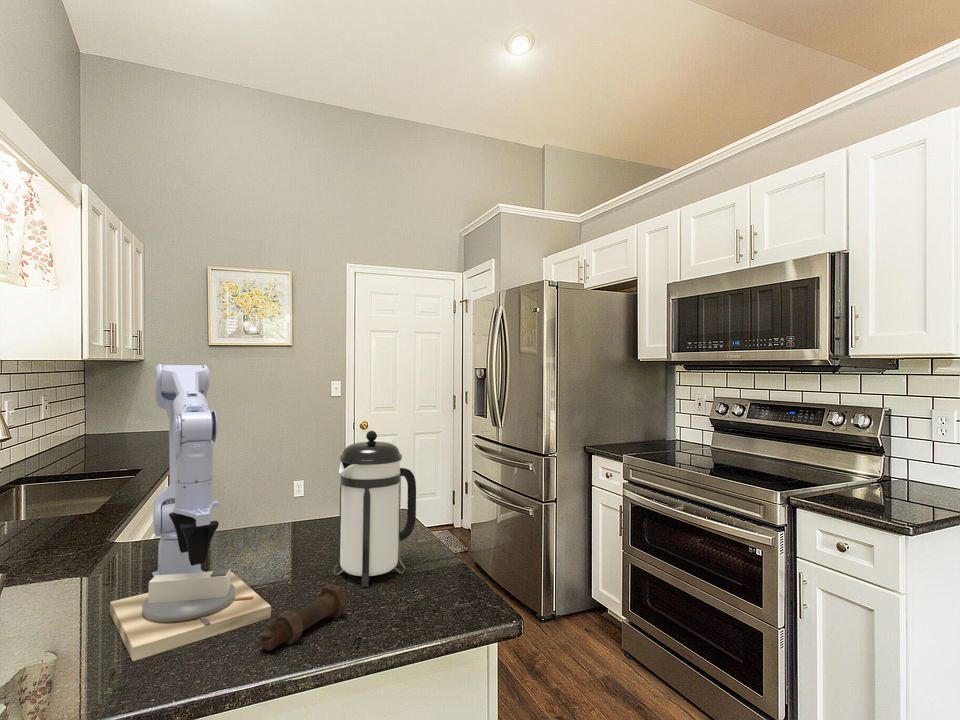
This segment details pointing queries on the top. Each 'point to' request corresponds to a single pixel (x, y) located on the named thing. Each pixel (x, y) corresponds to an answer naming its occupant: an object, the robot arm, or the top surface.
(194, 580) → the dial
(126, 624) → the dial board
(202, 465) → the robot arm
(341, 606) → the bolt
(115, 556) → the top surface
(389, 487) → the coffee press
